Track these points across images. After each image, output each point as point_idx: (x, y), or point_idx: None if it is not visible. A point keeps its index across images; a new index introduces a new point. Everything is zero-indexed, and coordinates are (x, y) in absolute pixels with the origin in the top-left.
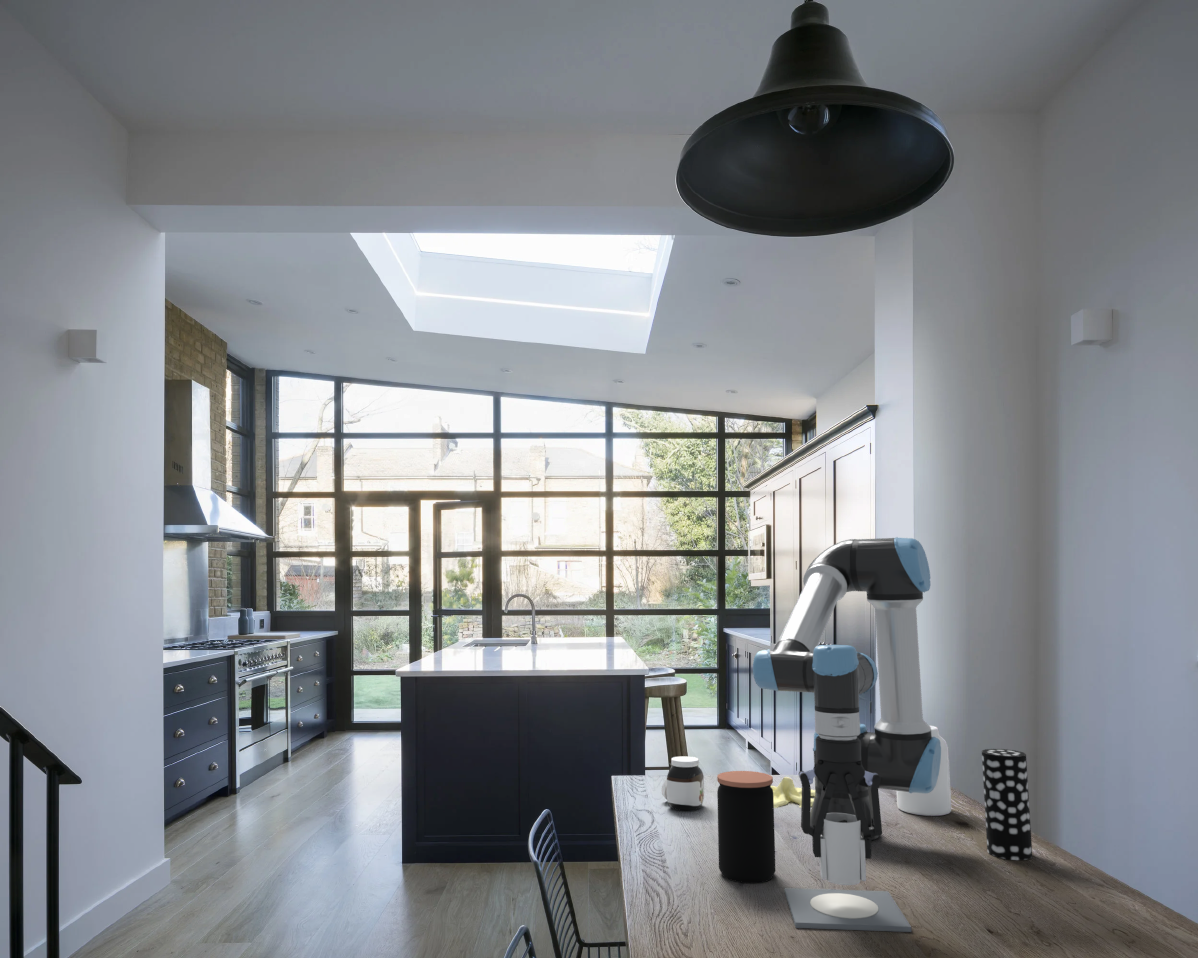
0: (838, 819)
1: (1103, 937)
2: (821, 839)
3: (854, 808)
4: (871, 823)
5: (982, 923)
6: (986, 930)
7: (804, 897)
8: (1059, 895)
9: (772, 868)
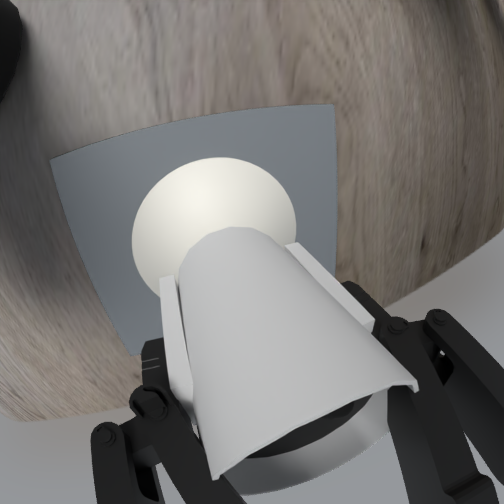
0: (319, 371)
1: (485, 224)
2: (195, 422)
3: (406, 466)
4: (441, 340)
5: (426, 219)
6: (420, 244)
7: (111, 216)
8: (499, 101)
9: (5, 73)
